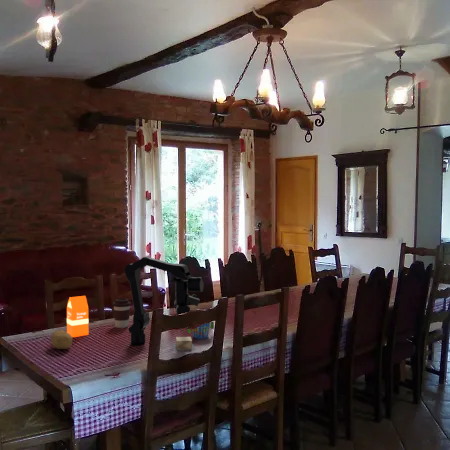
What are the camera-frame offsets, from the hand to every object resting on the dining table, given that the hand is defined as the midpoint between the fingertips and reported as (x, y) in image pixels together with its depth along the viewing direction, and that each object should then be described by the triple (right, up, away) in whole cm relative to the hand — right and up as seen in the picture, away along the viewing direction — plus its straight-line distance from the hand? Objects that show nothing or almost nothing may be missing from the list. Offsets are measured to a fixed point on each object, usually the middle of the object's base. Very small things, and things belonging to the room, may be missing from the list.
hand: (182, 323), depth 241 cm
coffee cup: (-37, -10, +40) cm, 55 cm away
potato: (-56, -12, -3) cm, 58 cm away
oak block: (+1, -11, 0) cm, 11 cm away
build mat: (+1, -12, 0) cm, 12 cm away
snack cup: (+8, -11, +19) cm, 23 cm away
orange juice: (-56, -10, +22) cm, 62 cm away
